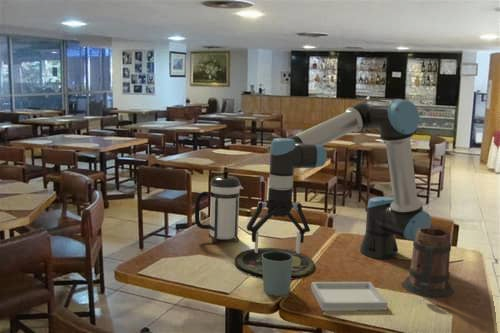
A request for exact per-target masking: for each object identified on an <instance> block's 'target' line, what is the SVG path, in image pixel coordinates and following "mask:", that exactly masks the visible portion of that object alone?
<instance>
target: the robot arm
mask: <svg viewBox="0 0 500 333" xmlns="http://www.w3.org/2000/svg"><path fill="white" fill-rule="evenodd" d="M419 123H420V112H419V110H418V107H417V106H416V105H415V103H413V102H412V101H409V100H407V99H402V98H384V97H373V98H369V99H367V100H364V101H361V102H359V103H356V104H354V105H352V106H350V107H348V108H346V109H345V111H344V112H343V113H341V114H339V115H336V116H335V117H333V118H329V119H328V120H325V121H323V122H321V123H319V124H316V125H314V126H312V127H310V128H308V129H305V130H304V131H301V132H299V133H297V134H294V135H292V136H290V137H287V138H284V137H282V138H281V137H280V138H279V137H278V138H274V139H273V140H272V141H271V143H270V146H269V153H270V158H269V162H270V163H269V179H268V186H269V187H268V196H267V197H268V198H267V202H263V201H261V200H259V201H258V202H257V207H256V209H255V210H254V212H253V214H252V216H251V217H250V219H249V221H248V223H247V225H246V230H247V231H249V232H251V241H252V243H254V248H253V249H254V251H255V253H258V248H259V234H260V233H259V230H260V229H261V227H263V225H264V224H265V223H266V222H268V220H269V219H271V217H281V218H285V217H286V216H287V217H288V218H289V220H290V221H291V222H292V223H293V225H294V226H295V227H296V229H297V230H298V231H296V242H295V251H296V252H297V254H300V253H301V244H303V243H304V239H305V234H306V233H309V232H310V231H311V228H310V226H309V223H308V221H307V219H306V217H305V215H304V212H303V209H302V204H301V202H300V201H297V202H294V203H293V201H292V200H293V189H292V188H293V186H294V171H295V169H308V168H309V169H310V168H313V169H315V168H322V167H323V166H324V165H325V164H326V162H327V158H328V154H327V150H326V148H325V147H324V145H327V144H329V143H331V142H333V141H335V140H338V139H339V138H341V137H344V136H346V135H348V134H350V133H352V132H354V133H358V132H361V131H363V130H377V131H379V136H380V140H381V141H383V142H385V146H386V156H387V162H388V163H387V164H388V169H389V171H388V172H389V177H390V185H391V194H392V196H375V197H371V198H369V199H368V202H367V207H366V218H365V220H366V221H365V222H366V223H365V233H364V235H363V237H362V240H361V243H360V245H359V252H360V253H361V254H362V255H364V256H367V257H370V258H374V259H383V260H385V259H387V260H389V259H394V258H397V257H398V254H399V249H398V243H397V240H396V236H398V237H400V238H401V237H403V238H404V239H406V240H411V241H414V239H415V237H416V233H417V230H418V229H419V228H431V223H432V218H431V216H430V214H429V213H428V212H427V211H424V209H423V202H422V201H421V200H420V199H418V194H417V187H416V186H417V185H416V177H415V176H416V175H415V170H414V161H413V153H412V144H411V139H412V138H413V136H415V132H416V130H417V129H418V127H419V125H418V124H419ZM265 208H267V211H266V212H265V213H264V215H263V216H262V217H261V218H260V219H259V220H258V218H259V216H260V214H261V212H262V210H264V209H265ZM293 208H294V209H295V211H297V214H298V216H299V218H300V221H301V223H302V225H303V227H302V226H301V225H300V224H299V222H298V221H297V220H296V219H295V217H294V215H293V214H292V213H291V211H292V210H293ZM257 220H258V221H257ZM256 221H257V222H256Z"/></svg>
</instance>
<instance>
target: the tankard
mask: <svg viewBox="0 0 500 333" xmlns="http://www.w3.org/2000/svg"><path fill="white" fill-rule="evenodd" d="M450 238H451V237H450V232H448V231H444V230H442V229H440V228H434V227H430V228H419V229H418V230H417V233H416V237H415V239H414V240H413V244H412V246H413V247H412V255H411V262H410V266H409V271H408V272H409V275H408V276H407V277H406V278H405V280H404V281H402V283H401V286H402V288H403V289H404V290H405V291H407V292H409V293H411V294H413V295H416V296H418V297H419V296H420V297H422V298H428V299H447V298H450V297H451V298H452V296H454V294H455V292H454V289H453V288H452V286H451V284H450V283H449V279H450V255H451V251H452V244H451V239H450Z"/></svg>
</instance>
